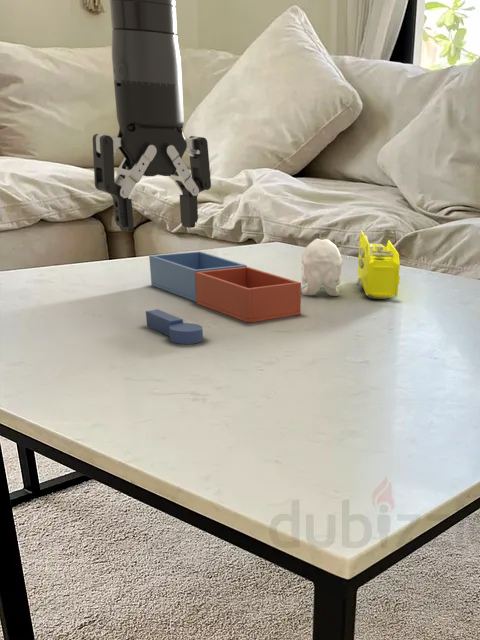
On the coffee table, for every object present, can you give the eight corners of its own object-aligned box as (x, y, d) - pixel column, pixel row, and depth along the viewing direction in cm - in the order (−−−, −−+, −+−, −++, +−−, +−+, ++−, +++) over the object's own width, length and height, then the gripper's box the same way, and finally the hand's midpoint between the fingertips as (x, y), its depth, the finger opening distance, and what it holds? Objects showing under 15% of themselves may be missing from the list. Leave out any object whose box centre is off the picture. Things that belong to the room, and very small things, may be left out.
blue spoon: (181, 346, 95) (180, 329, 94) (139, 327, 101) (137, 311, 100) (209, 341, 98) (208, 325, 97) (166, 323, 104) (165, 308, 103)
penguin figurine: (302, 239, 117) (298, 234, 128) (302, 297, 120) (297, 288, 131) (344, 241, 118) (336, 236, 129) (342, 298, 121) (335, 289, 132)
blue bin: (196, 302, 115) (194, 270, 113) (151, 285, 123) (149, 255, 120) (247, 295, 121) (247, 265, 119) (201, 279, 128) (200, 251, 126)
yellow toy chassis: (354, 279, 137) (357, 229, 133) (387, 280, 137) (390, 230, 133) (363, 300, 123) (366, 245, 119) (398, 302, 123) (402, 247, 119)
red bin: (248, 322, 106) (247, 289, 104) (196, 303, 114) (195, 272, 112) (300, 314, 112) (301, 282, 110) (248, 296, 120) (247, 266, 118)
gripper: (184, 82, 96) (191, 221, 103) (72, 73, 86) (89, 227, 94) (219, 84, 91) (224, 230, 99) (106, 75, 82) (120, 237, 89)
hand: (158, 228), depth 96 cm, fingers open, 8 cm apart
